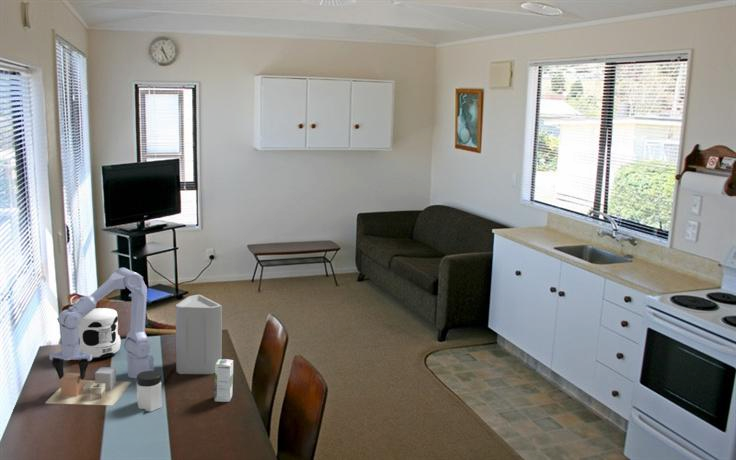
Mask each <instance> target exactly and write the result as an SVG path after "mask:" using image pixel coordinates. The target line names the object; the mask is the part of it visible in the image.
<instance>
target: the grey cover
mask: <svg viewBox="0 0 736 460" xmlns="http://www.w3.org/2000/svg"><path fill="white" fill-rule="evenodd" d="M116 379H117V369H116V367H110V366H109V367H108V366H107V367H106V366H101V367H99V368H98V369H97V370H96V371H95V373H94V381H95V383H105V390H111V389H112V388H113V387H114V386H115V384H116V381H117V380H116Z"/></svg>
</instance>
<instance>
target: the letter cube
mask: <svg viewBox="0 0 736 460" xmlns="http://www.w3.org/2000/svg"><path fill="white" fill-rule="evenodd" d="M105 394H106V393H105V383H94V384H93V385H92V386H91V387H90V398H101V399H102V397H103V396H104V395H105Z"/></svg>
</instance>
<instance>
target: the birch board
mask: <svg viewBox="0 0 736 460" xmlns="http://www.w3.org/2000/svg"><path fill="white" fill-rule="evenodd" d="M94 383H95V380H88V379H87V380H86V379H83V390H82V391H81V393H80V394H79V395H78V396H61V386H60V387H59V388H58V389H57V390H56V391H55V392H54V393H53V394H52V395H51V396H50V397H49V398H48V399H47V400H46V401H45V402H44V404H51V405H52V404H53V405H54V404H55V405H57V404H58V405H61V404H62V405H85V406H86V405H87V406H114V405H115V404H116V402H118V400H119V399H120V397H122V395H123V394H124V393H125V392H126V390H127V389H128V387H129V386H130V384H132V381H123V380H122V381H121V380H120V381H117V380H116V384H115V386H114V387H113V388H112V389H111V390H105V393H106V394H105V395H104V396H103V397H102V399H101V398H90V387H91V386H92V385H93V384H94Z"/></svg>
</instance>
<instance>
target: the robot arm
mask: <svg viewBox="0 0 736 460" xmlns="http://www.w3.org/2000/svg"><path fill="white" fill-rule="evenodd" d="M126 288H127V289H128V290H129V291H130V292H131V308H130V324H129V326H130V327H129V332H127V333H126V338H125V340H124V343H123V348H124V349H125V351H126V353H127V354H126V357H127V358H126V359H127V377H128V378H131V379H137V375H138V374H139V373H141V372H144V371H155V370H154V369H155V368H154V356H153V355H150V354H149V352H150V349H151V346H150V344H149V338H148V336H147V334H146V331H145V330H146V314H147V301H148V300H147V299H148V298H147V297H148V287H147V285H146V284H145V281H144V276H142V275H141V274H140V273H138V272H135V271H133V270H131V269H128V268H126V267H120V268H118V269H117V270H116V271H115V272H113V273H111V274H110V276H109V278H108V279H107V280H106V281H105V282H104V283H102V284H101V285H100V286H99V287H98V288H97V289H95V290H94V292H93V293H91V294H89V295H84V296H80V298H78V301H77V302H75V303H74V304H72V306H69V307H68V309H64V310H62V311H61V312H60V313H59V315H58V317H57V319H56V320H57V322H58V323H59V324H60V337H61V352H51V353H50V354H49V360H51V365H52V366H53V368H54V369H55V371H56V373H57V375H58V379H59V380H60V379H61V378H62V377H63V376H64V375H65V373H64V372H65V371H64V362H65V361H70V360H71V361H72V360H74V361H77V360H78V361H79V362H78V367H79V373H80V379H81V380H82V379H83V380H85V376H86V371H87V368H88V366H89V363H90V361H92V360H93V358H92V354H87V353H82V352H79V331H78V326H79V325H80V323H81V320H82V319H83V317H85V316H86V315H87V314H88V313H90V312H91V311H92V310H93V309H95V308H96V307H97V303H98V302H100V301H101V300H102V299H103V298H105V297H106V296H108V295H109V294H110V293H111V292H113V291H115V290H124V289H126Z"/></svg>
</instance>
